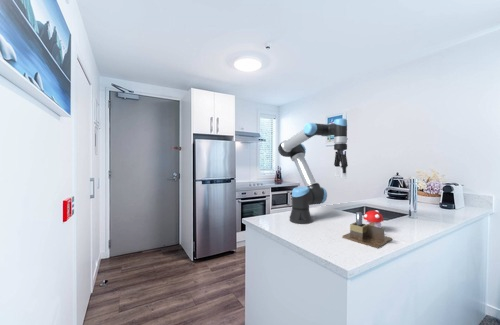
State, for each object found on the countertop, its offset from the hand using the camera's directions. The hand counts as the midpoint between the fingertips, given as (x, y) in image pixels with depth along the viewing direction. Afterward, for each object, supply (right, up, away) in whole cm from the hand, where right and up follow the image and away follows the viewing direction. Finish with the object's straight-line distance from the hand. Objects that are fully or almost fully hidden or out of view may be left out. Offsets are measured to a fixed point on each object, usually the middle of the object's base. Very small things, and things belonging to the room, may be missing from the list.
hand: (340, 177), depth 135 cm
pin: (+3, -31, -18) cm, 36 cm away
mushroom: (+18, -32, -5) cm, 37 cm away
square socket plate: (+7, -32, -18) cm, 38 cm away
